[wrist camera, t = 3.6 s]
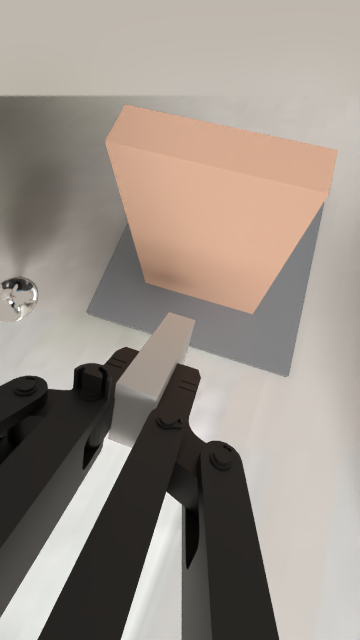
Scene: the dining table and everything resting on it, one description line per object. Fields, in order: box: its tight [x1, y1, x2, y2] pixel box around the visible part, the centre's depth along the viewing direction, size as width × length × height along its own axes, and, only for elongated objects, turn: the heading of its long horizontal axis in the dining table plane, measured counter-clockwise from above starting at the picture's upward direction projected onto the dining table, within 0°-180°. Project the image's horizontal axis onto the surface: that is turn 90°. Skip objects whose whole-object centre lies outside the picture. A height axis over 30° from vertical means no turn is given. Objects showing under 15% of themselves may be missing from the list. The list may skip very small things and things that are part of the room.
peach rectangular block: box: [105, 105, 338, 314], centre depth 19 cm, size 3×10×14 cm, turn 72°
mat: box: [87, 203, 324, 377], centre depth 28 cm, size 21×18×1 cm
